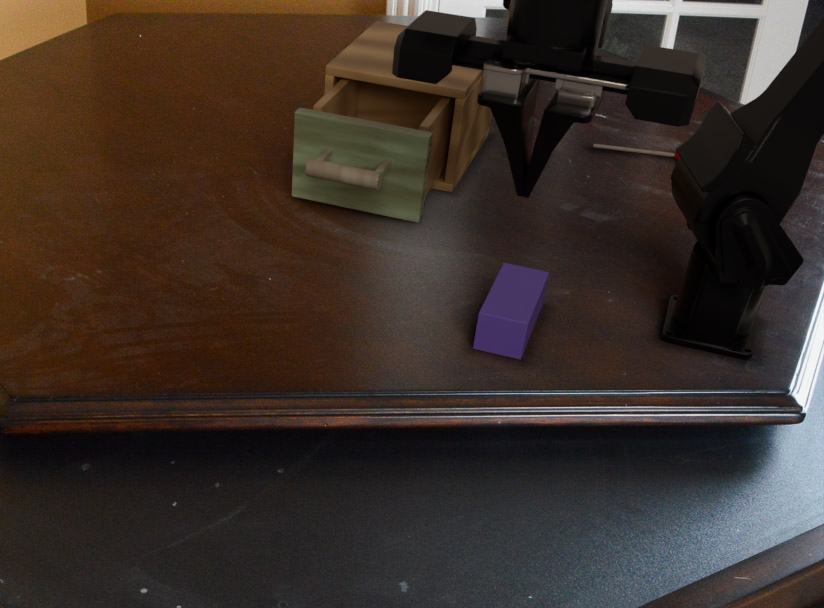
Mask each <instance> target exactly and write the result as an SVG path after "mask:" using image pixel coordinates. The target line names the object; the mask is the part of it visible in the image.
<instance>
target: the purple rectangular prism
mask: <svg viewBox="0 0 824 608" xmlns="http://www.w3.org/2000/svg"><path fill="white" fill-rule="evenodd" d="M549 275H550V272H549V271H545V270H540V269H537V268H536V269H535V268H531V267H527V266H521V265H517V264H513V263H508V262H503V263H502V265H501V266H500V269H499V271H498V273H497V274H496V277H495V279H494V281H493V283H492V284H491V287H490V289H489V291H488V293H487V295H486V297H485V300H484V301H483V303H482V306H481V307H480V309H479V312H478V315H477V321H476V327H475V331H474V339H473V344H472V349H473V350H476V351H481V352H485V353H489V354H492V355H493V354H494V355H498V356H502V357H507V358H511V359H515V360H519V361H520V360H522V358H523V355H524V353H525V350H526V348H527V345H528V343H529V340H530V338H531V335H532V332H533V330H534V328H535V325H536V324H537V321H538V317H539V315H540V313H541V311H542V308H543V303H544V300H545V295H546V290H547V286H548V281H549V277H550V276H549Z"/></svg>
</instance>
